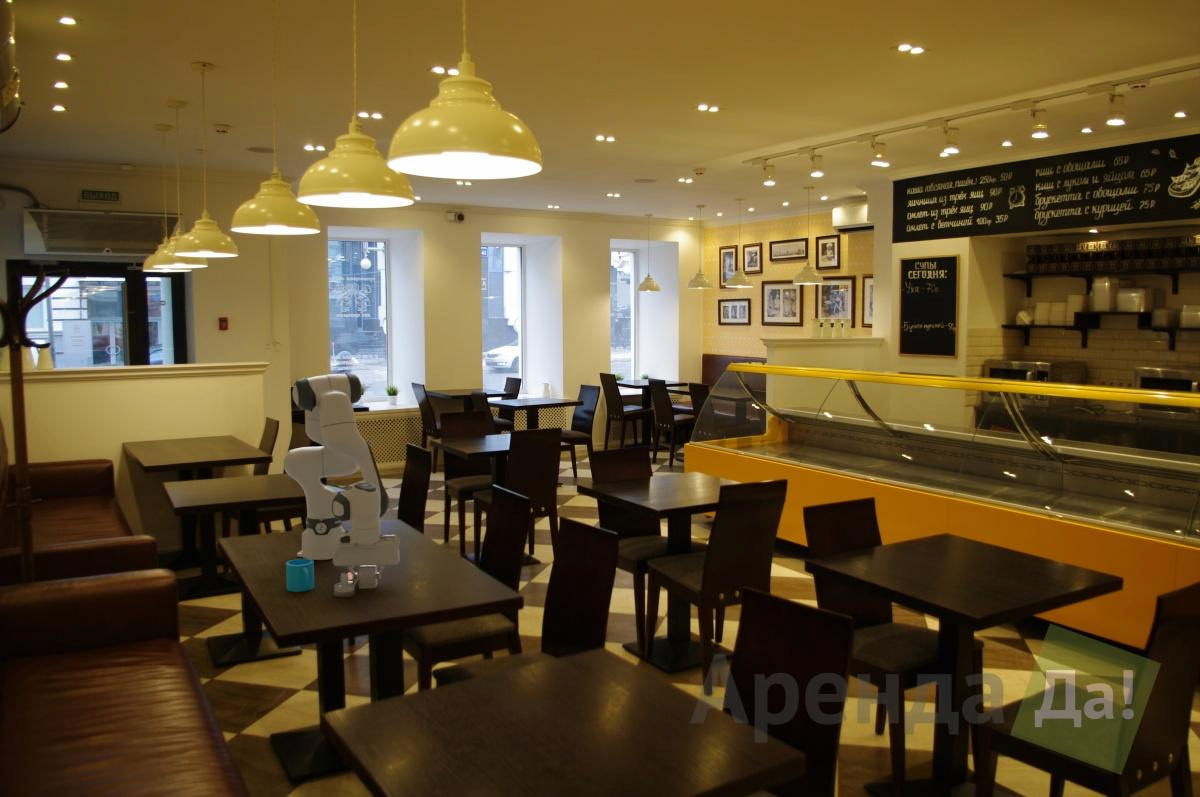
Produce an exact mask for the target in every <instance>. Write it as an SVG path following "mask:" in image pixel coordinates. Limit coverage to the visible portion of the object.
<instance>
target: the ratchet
mask: <svg viewBox="0 0 1200 797" xmlns="http://www.w3.org/2000/svg"><path fill="white" fill-rule="evenodd" d="M355 573H358V574H359V571H358V572H357V571H355ZM358 582H359V578H358V579H356V580H353V579H352V574H351V572H350V571H349V572H341V574H340V582H337V583H335V584H334V585H333V596H334V597H336V598H350V597H354V596H355V593H356V591H355V587H356V584H357V583H358Z"/></svg>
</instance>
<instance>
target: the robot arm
mask: <svg viewBox="0 0 1200 797" xmlns="http://www.w3.org/2000/svg"><path fill="white" fill-rule="evenodd" d="M362 392H363V385H362V383H361V380H360V378H359V376H357V375H356V374H355V373H350V372H349V373H348V372H347V373H329V374H324V375H315V376H312V377H302V378H300V379H297V380H296V381H295V382H294V384H293V389H292V399H293V402H294V403H295V404H296V405H295V406H297V407H298V408H299V409H300V410H304V419H305V420H304V422H305V423H304V424H305V426H304V427H305V428H304V429H305V434H306V435H307V437H308V438H309V439H310V440H311V441H313V442H315V443H318V444H319V445H321V446H302V447H298V448H293V449H289V450H288V451H287V453H286V454H285V456H284V458H283V469H284V471H285V473H286V474H287V475H288V476H289V477H290V478H292V479H293V480H294V481H296V482H297V483H298V485H299V486H300V487H301V488H302V490H303V492H304V496H305V501H306V509H307V510H306V511H307V512H306V513H307V514H306V515H307V516H306V517H305V523H306V524H305V526H306V529H305V530H303V532H302V534H301V550H300V551H298V552H297V554H296V557H300V558H303V559H311V560H313V561H314V560H315V561H317V560H318V561H324V560H331V559H332V564H333V565H334V566H335V567H348V571H349V572H351V574H352V579H353V580H356V579H358V580H359V572H358V573H355V572H356V571H355V570H354V567H356V566H358V567H360V566H364V565H377V566H379V567H378V569H380V570H378V571H377V572H376V579H377V580H380V579H382V573H383V571H384V569H385V567H386V566H396V565H398V564H399V562H400V559H401V557H400V556H401V555H400V547H401V539H400V537H399V536H397V535H396V534H391V535H390V534H382V533H381V532H382V531H381V530H382V529H381V526H382V525H381V522H380V521H381V520H380V518H382V517H383V516H384V515H385V514H386V513H387V511H388V510H389V507H390V497H389V495H388V493H387V491H386V488H385V487H384V483H383V481H382V478H381V475H380V472H379V468H378V466H377V462H376V459H375V455H374V453H373V450H372V448H371V445H370V443H369V441H368V440H367V439H365V438H363V437H362V435H361V433H360V431H359V429H358V426H357V420H356V414H355V412H354V407H353V404H354V405H355V404H356V403H358V402H359V401H360V400H361V398H362ZM359 469H360V473H361V474H362V475H361V476H362V478H363V482H357V483H355V484H353V486H352V487H351V488H350V489H348V490H345V491H340V492H338V491H337V490H336V489H335V488H332V487H331V486H328V485H325V484H324V483H322V481H321V479H323V478H336V477H339V478H340V477H345V476H350V475H353V474H354V475H355V473H356V472H358V470H359ZM343 522H345V523H346V522H351V529H349V530H345V529H344V528H343V526H342V523H343Z"/></svg>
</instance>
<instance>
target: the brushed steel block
mask: <svg viewBox="0 0 1200 797" xmlns="http://www.w3.org/2000/svg"><path fill="white" fill-rule="evenodd" d="M376 572H378V565H364V566H358V589H360V590H361V589H376V588H377V585H378V579H376Z"/></svg>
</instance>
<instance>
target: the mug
mask: <svg viewBox="0 0 1200 797" xmlns="http://www.w3.org/2000/svg"><path fill="white" fill-rule="evenodd" d="M314 564H315V563H314V560H312V559H306V558H297V559H291V560H288V561H286V563H285V572H286V575H285V576H286V590H287V591H289V592H300V593H301V592H306V591H309V590H313V589H314V588H315V565H314Z"/></svg>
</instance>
